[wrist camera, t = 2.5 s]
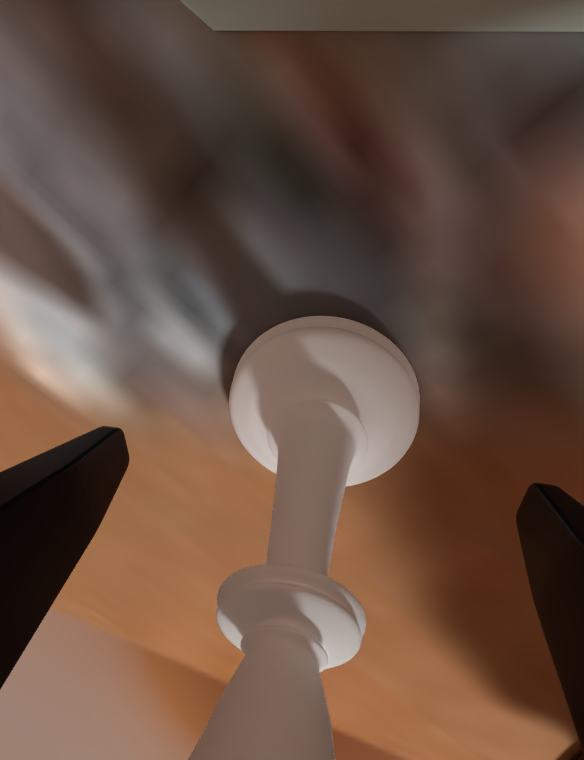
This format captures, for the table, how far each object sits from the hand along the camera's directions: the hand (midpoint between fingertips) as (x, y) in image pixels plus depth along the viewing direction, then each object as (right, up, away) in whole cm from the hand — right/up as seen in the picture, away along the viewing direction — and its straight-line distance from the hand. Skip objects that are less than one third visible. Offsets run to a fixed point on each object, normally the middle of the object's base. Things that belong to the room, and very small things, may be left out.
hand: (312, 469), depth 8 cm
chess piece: (0, +1, +2) cm, 3 cm away
